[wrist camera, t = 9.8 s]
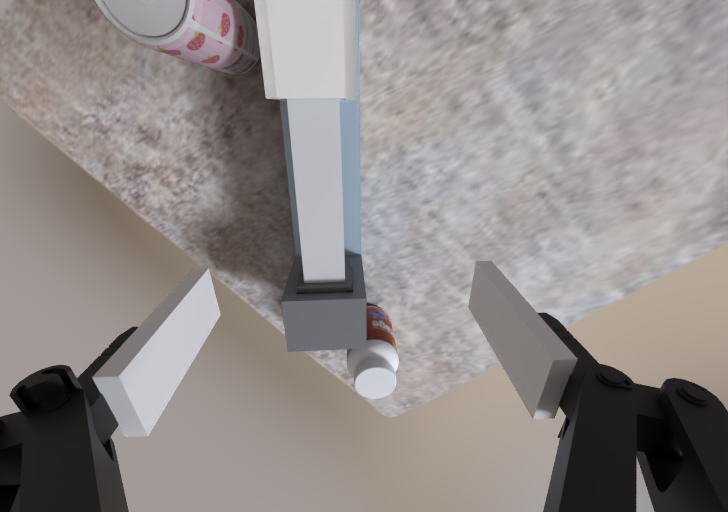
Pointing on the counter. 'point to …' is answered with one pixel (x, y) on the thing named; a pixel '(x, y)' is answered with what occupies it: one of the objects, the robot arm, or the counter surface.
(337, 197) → the tube
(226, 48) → the beverage can
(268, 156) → the counter surface
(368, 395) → the pill bottle
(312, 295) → the socket
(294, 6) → the sleeve
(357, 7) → the mounting board
